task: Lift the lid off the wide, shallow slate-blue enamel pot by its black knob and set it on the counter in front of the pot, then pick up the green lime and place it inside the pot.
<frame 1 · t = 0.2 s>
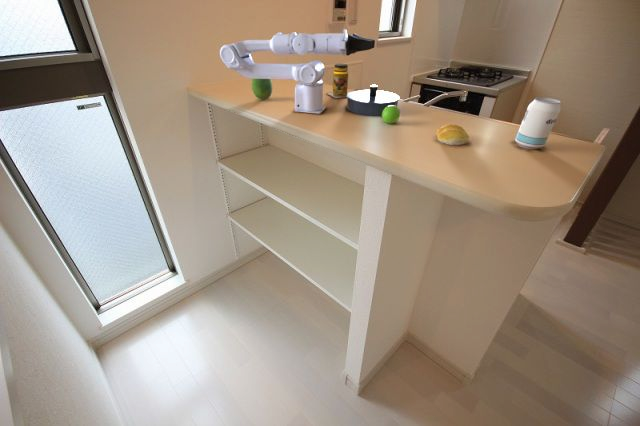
hand: (373, 44, 91), 21 cm above the worktop, tool horizontal, fingers open, 7 cm apart
fruit: (263, 100, 119), on the worktop
bread roll: (450, 140, 84), on the worktop
beverage can: (527, 146, 81), on the worktop
lime: (390, 114, 95), point 3 cm above the worktop
condiment: (339, 95, 126), on the worktop
lid: (372, 97, 108), point 4 cm above the worktop, touching pot
pot: (371, 108, 110), on the worktop
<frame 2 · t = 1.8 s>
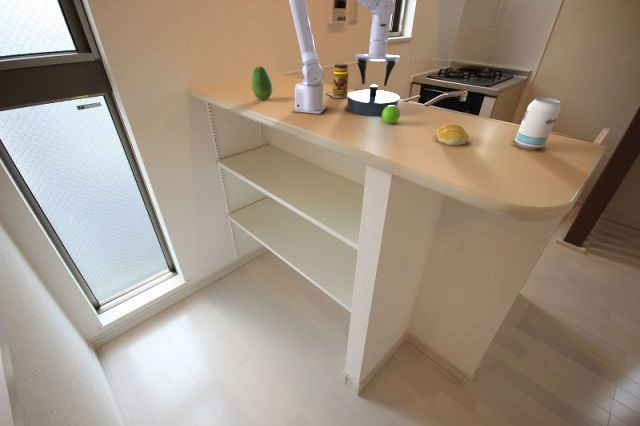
hand: (374, 84, 105), 8 cm above the worktop, tool pointing down, fingers open, 7 cm apart
nothing on the worktop moved.
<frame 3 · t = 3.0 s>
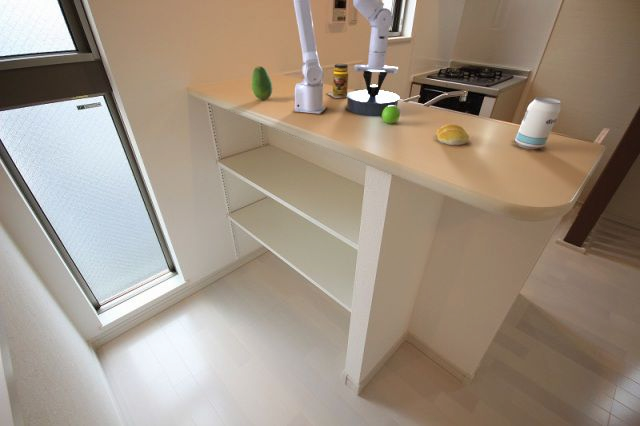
hand: (373, 94, 107), 5 cm above the worktop, tool pointing down, fingers closed on lid, 2 cm apart
lid: (372, 97, 108), point 4 cm above the worktop, touching gripper, pot
everything else where it was.
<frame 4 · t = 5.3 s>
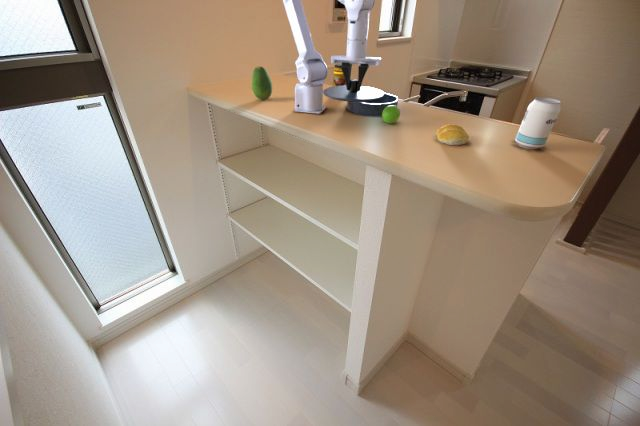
hand: (353, 90, 93), 9 cm above the worktop, tool pointing down, fingers closed on lid, 2 cm apart
lid: (353, 93, 93), point 8 cm above the worktop, touching gripper
everything else where it was.
when the fingers open (2 cm above the worktop, at t = 7.9 s): lid stays where it is, point 1 cm above the worktop.
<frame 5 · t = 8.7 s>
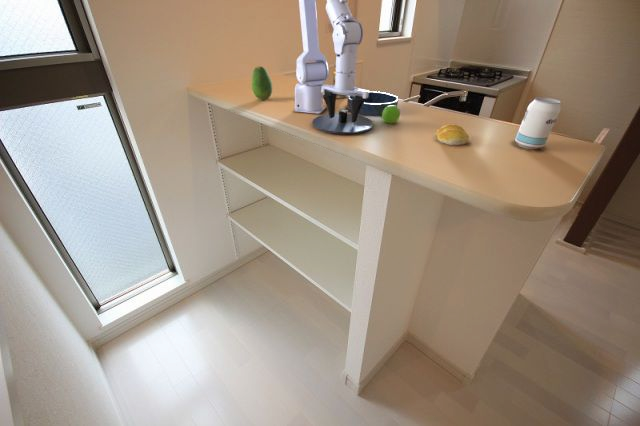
hand: (342, 119, 93), 2 cm above the worktop, tool pointing down, fingers open, 7 cm apart
lid: (342, 123, 93), point 1 cm above the worktop
everything else where it was.
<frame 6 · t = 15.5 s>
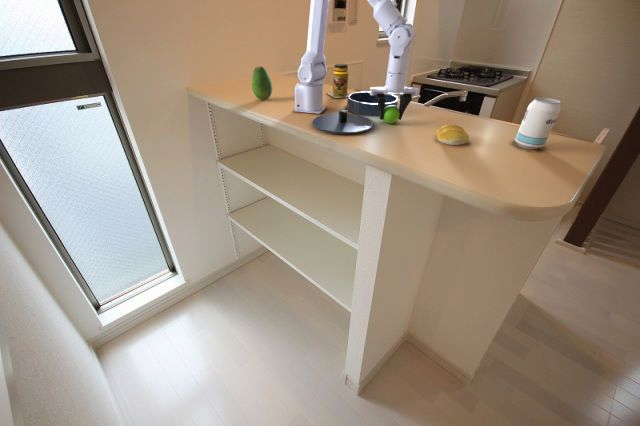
hand: (390, 118, 95), 1 cm above the worktop, tool pointing down, fingers closed on lime, 5 cm apart
lime: (390, 114, 95), point 3 cm above the worktop, touching gripper
everything else where it was.
when the fingers open (2 cm above the worktop, at t = 20.2 s): lime stays where it is, resting on pot.
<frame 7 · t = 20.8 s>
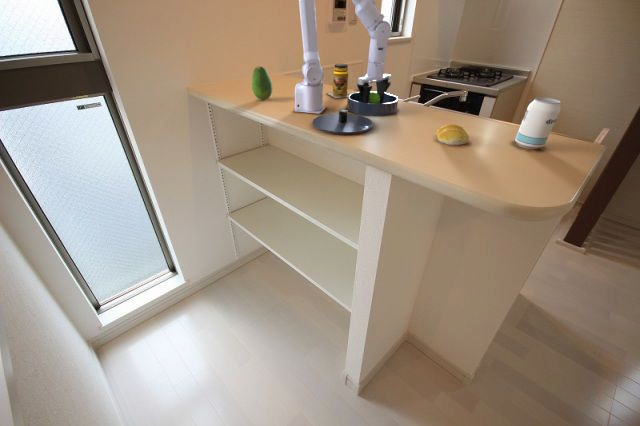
hand: (372, 103, 109), 2 cm above the worktop, tool pointing down, fingers open, 7 cm apart
lime: (372, 99, 108), point 3 cm above the worktop, touching pot
everything else where it was.
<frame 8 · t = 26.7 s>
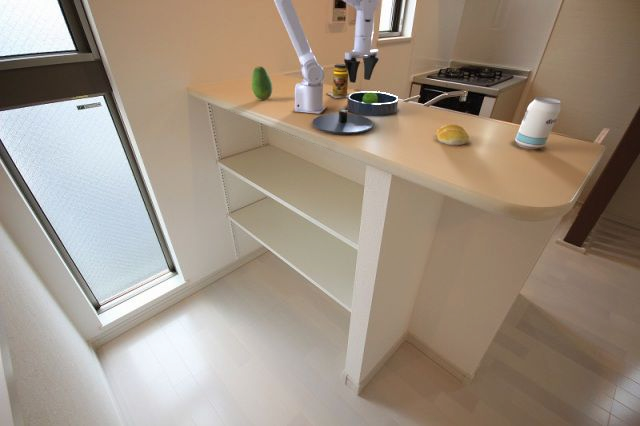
hand: (359, 80, 105), 9 cm above the worktop, tool pointing down, fingers open, 7 cm apart
lime: (370, 99, 108), point 3 cm above the worktop, tilted 18°, touching pot
everything else where it was.
at the end: lime inside the target area in the pot (0.9 cm from its centre), point 3.1 cm above the pot's base; lid inside the target area (0.0 cm from its centre), point 0.6 cm above the worktop; lid tilted 0° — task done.
